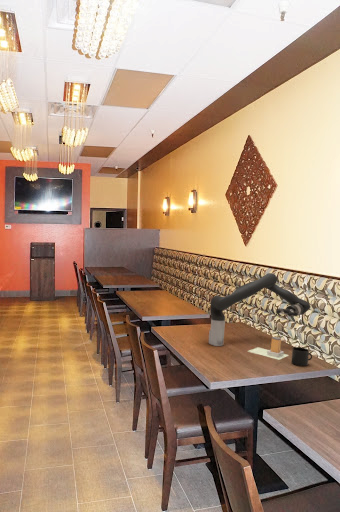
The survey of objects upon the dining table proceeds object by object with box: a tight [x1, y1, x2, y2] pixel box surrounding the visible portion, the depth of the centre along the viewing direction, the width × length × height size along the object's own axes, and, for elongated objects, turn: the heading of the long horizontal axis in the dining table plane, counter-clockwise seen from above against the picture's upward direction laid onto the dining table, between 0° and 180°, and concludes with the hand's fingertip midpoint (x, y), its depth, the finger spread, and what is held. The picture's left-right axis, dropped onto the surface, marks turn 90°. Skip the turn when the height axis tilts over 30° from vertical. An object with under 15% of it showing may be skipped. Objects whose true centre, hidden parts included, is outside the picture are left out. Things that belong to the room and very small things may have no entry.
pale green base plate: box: [247, 346, 289, 361], centre depth 268 cm, size 22×14×4 cm, turn 50°
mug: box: [291, 346, 313, 367], centre depth 255 cm, size 9×12×9 cm
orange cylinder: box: [270, 336, 282, 353], centre depth 265 cm, size 4×4×11 cm
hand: (282, 313), depth 275 cm, fingers open, 8 cm apart
